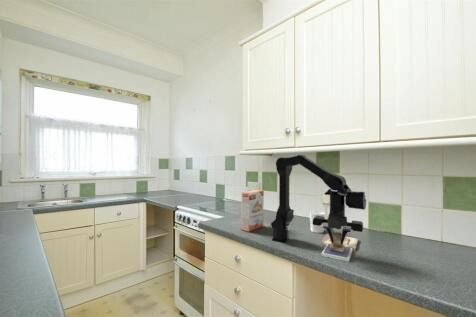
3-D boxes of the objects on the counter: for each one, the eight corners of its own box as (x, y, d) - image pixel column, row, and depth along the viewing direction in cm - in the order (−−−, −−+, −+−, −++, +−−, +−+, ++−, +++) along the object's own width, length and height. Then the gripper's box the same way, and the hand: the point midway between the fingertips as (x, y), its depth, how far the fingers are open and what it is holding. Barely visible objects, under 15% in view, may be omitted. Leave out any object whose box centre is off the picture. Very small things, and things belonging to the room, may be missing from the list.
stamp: (329, 250, 95) (329, 234, 95) (331, 246, 99) (331, 230, 99) (342, 253, 92) (342, 236, 92) (344, 249, 96) (344, 232, 96)
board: (320, 244, 105) (320, 241, 105) (327, 235, 117) (327, 233, 117) (355, 250, 98) (355, 248, 98) (357, 240, 110) (357, 238, 110)
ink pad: (321, 256, 93) (321, 252, 93) (327, 246, 103) (327, 243, 103) (348, 261, 88) (348, 257, 88) (352, 251, 98) (352, 247, 98)
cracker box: (249, 232, 122) (249, 193, 122) (240, 230, 126) (240, 192, 126) (264, 226, 133) (264, 190, 133) (255, 224, 137) (255, 189, 137)
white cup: (306, 229, 127) (306, 211, 127) (318, 228, 130) (318, 210, 130) (316, 234, 120) (316, 214, 120) (328, 232, 122) (328, 213, 122)
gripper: (309, 207, 93) (309, 245, 93) (361, 213, 84) (361, 256, 84) (315, 202, 103) (315, 237, 103) (363, 207, 93) (363, 246, 93)
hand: (337, 244), depth 95 cm, fingers closed on stamp, 3 cm apart
